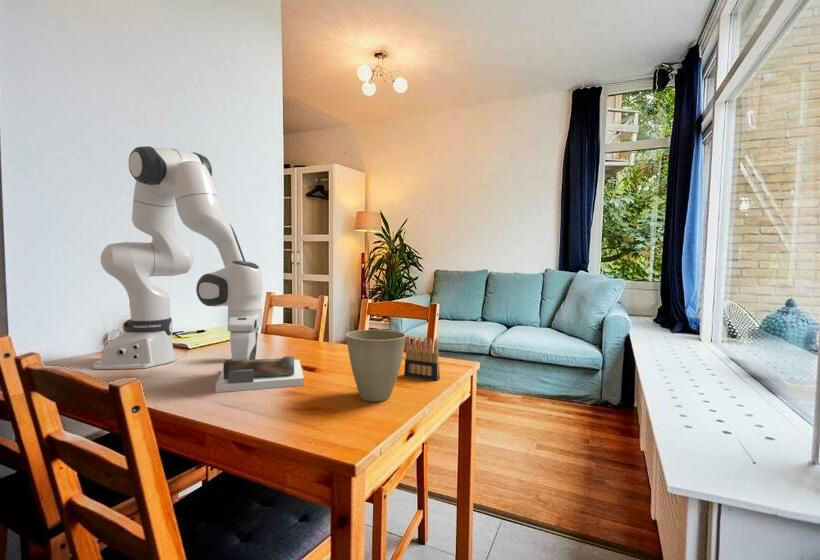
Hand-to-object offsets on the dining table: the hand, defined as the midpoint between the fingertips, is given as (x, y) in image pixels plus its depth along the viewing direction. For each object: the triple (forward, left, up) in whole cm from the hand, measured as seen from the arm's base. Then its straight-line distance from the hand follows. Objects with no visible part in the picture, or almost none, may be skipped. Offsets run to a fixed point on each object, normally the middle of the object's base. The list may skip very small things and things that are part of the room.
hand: (244, 369), depth 117 cm
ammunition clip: (+49, -10, -4) cm, 50 cm away
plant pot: (+32, -23, -4) cm, 40 cm away
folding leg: (+4, -4, -1) cm, 6 cm away
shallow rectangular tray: (+5, +3, -4) cm, 6 cm away
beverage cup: (0, +26, -4) cm, 26 cm away
